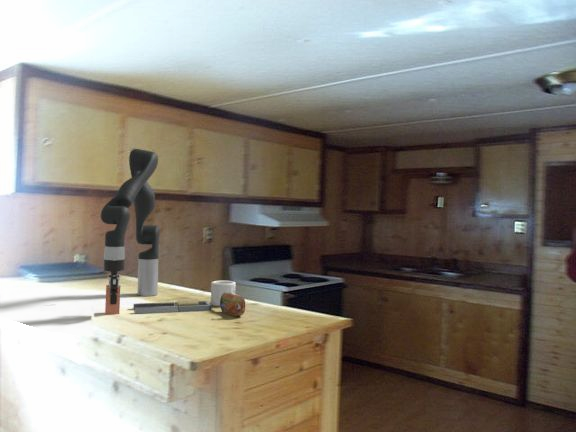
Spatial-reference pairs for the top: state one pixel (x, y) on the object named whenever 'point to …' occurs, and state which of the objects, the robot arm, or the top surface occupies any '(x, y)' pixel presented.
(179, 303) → the tan cubic piece
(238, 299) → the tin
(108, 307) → the pink rectangular block
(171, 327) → the top surface
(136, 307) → the slot bed
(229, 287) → the mug
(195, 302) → the khaki cube
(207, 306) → the tray
